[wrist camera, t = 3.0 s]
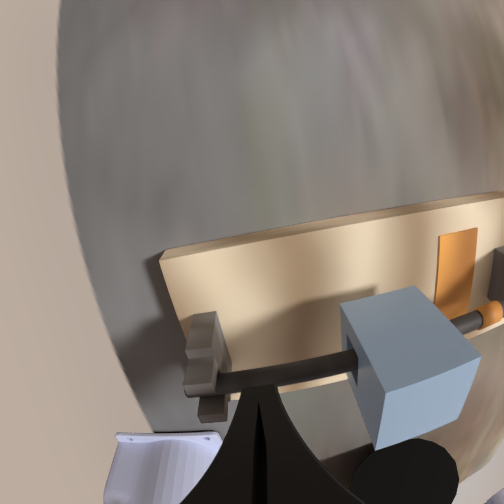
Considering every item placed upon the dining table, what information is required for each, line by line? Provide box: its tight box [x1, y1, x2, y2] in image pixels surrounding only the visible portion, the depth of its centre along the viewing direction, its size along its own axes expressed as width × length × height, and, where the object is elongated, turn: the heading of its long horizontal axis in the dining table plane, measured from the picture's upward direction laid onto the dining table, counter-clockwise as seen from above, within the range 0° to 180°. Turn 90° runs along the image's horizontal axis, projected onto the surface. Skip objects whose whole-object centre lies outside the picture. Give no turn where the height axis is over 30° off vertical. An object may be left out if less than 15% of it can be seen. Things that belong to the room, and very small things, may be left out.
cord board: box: [159, 190, 504, 423], centre depth 14 cm, size 24×10×6 cm, turn 101°
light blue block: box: [340, 285, 481, 450], centre depth 12 cm, size 4×4×6 cm
